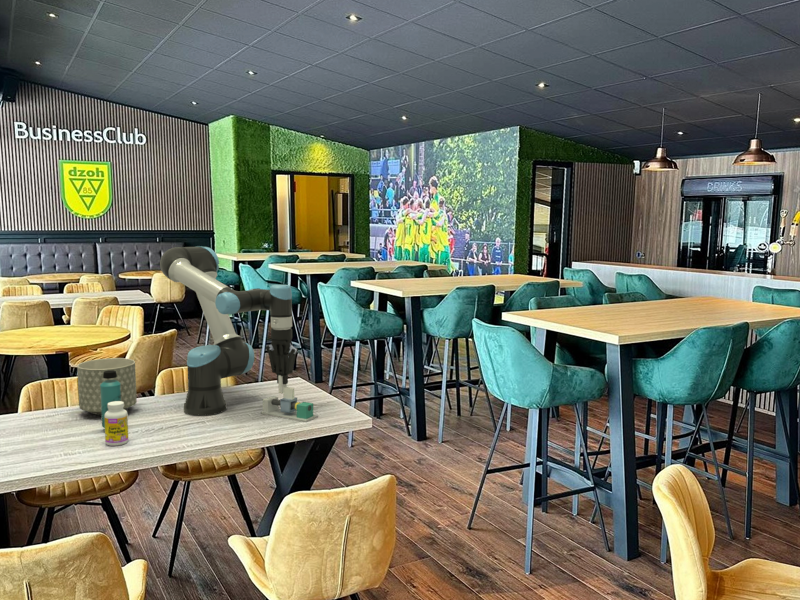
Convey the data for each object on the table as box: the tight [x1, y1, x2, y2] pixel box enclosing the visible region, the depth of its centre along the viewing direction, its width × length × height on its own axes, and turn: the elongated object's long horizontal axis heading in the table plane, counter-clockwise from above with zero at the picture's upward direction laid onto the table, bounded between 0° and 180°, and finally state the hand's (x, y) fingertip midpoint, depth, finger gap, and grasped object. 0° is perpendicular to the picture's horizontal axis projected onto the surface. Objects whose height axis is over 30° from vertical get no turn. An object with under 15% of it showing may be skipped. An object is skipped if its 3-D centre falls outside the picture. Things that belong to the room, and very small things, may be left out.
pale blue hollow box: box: [279, 386, 298, 413], centre depth 234 cm, size 4×5×9 cm
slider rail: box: [260, 395, 319, 423], centre depth 235 cm, size 20×7×5 cm, turn 62°
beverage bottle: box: [100, 370, 121, 429], centre depth 216 cm, size 6×7×20 cm
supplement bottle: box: [104, 401, 129, 447], centre depth 204 cm, size 7×7×13 cm
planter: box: [76, 357, 137, 416], centre depth 236 cm, size 19×19×18 cm
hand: (282, 392), depth 235 cm, fingers closed
